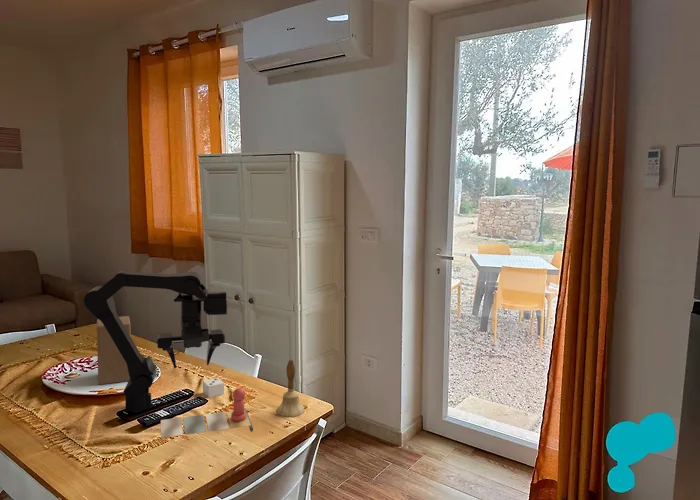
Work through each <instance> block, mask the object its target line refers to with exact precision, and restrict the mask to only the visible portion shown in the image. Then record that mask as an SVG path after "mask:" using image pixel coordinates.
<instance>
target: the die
mask: <svg viewBox="0 0 700 500" xmlns="http://www.w3.org/2000/svg"><path fill="white" fill-rule="evenodd" d="M202 394H204V395H205V396H206V397H207V398H214V397H218V396H223V395H225V383H224V381H223V380H222V379H220V378H219V377H215V378H211V379H205V380H202Z"/></svg>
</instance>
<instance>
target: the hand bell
mask: <svg viewBox="0 0 700 500" xmlns="http://www.w3.org/2000/svg"><path fill="white" fill-rule="evenodd" d="M295 374H296V365H295V364H294V360H293V359H288V361H287V365H286V377H287V391H285V392H284V393H283V395H282V401H281V403H280V405H279V406H277V409H276V413H277V414H278V415H280V416H283V417H286V418H294V417H298V416H300V415H302V414H304V412H305V408H304V406H303V405H302V404H301V403H300V400H299V393H298V391H295V387H294V380H295V379H294V378H295V376H296V375H295Z"/></svg>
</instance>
